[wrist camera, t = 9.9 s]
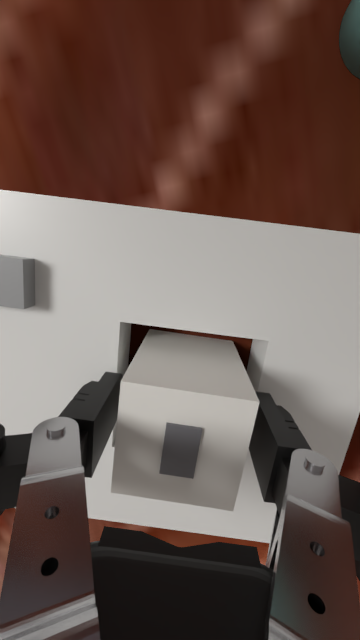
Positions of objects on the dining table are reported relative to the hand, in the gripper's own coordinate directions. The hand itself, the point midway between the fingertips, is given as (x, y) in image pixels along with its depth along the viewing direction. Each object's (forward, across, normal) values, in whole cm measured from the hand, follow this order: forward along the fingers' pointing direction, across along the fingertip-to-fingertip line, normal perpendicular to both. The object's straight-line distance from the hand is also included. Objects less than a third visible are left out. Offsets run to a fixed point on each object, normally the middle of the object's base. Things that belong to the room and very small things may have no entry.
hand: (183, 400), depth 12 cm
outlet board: (+3, +2, 0) cm, 3 cm away
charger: (+3, 0, 0) cm, 3 cm away
